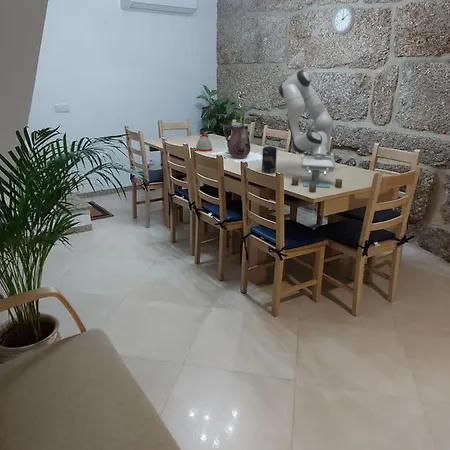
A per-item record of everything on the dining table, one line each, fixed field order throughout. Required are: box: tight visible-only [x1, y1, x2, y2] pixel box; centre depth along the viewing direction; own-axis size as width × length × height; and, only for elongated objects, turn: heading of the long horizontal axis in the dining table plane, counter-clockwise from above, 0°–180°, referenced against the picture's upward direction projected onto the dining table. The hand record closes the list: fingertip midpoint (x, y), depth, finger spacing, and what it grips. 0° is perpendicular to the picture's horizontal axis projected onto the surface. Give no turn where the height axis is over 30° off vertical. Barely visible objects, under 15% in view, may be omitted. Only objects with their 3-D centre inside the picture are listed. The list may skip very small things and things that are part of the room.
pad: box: [302, 180, 331, 189], centre depth 263 cm, size 12×16×1 cm
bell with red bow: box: [195, 132, 213, 153], centre depth 366 cm, size 14×14×15 cm
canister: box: [261, 145, 278, 174], centre depth 291 cm, size 10×10×18 cm
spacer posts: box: [291, 176, 343, 193], centre depth 254 cm, size 17×30×4 cm, turn 81°
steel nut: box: [310, 170, 321, 184], centre depth 262 cm, size 5×4×8 cm
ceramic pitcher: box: [223, 124, 251, 160], centre depth 335 cm, size 18×21×25 cm
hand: (317, 174), depth 261 cm, fingers open, 8 cm apart
